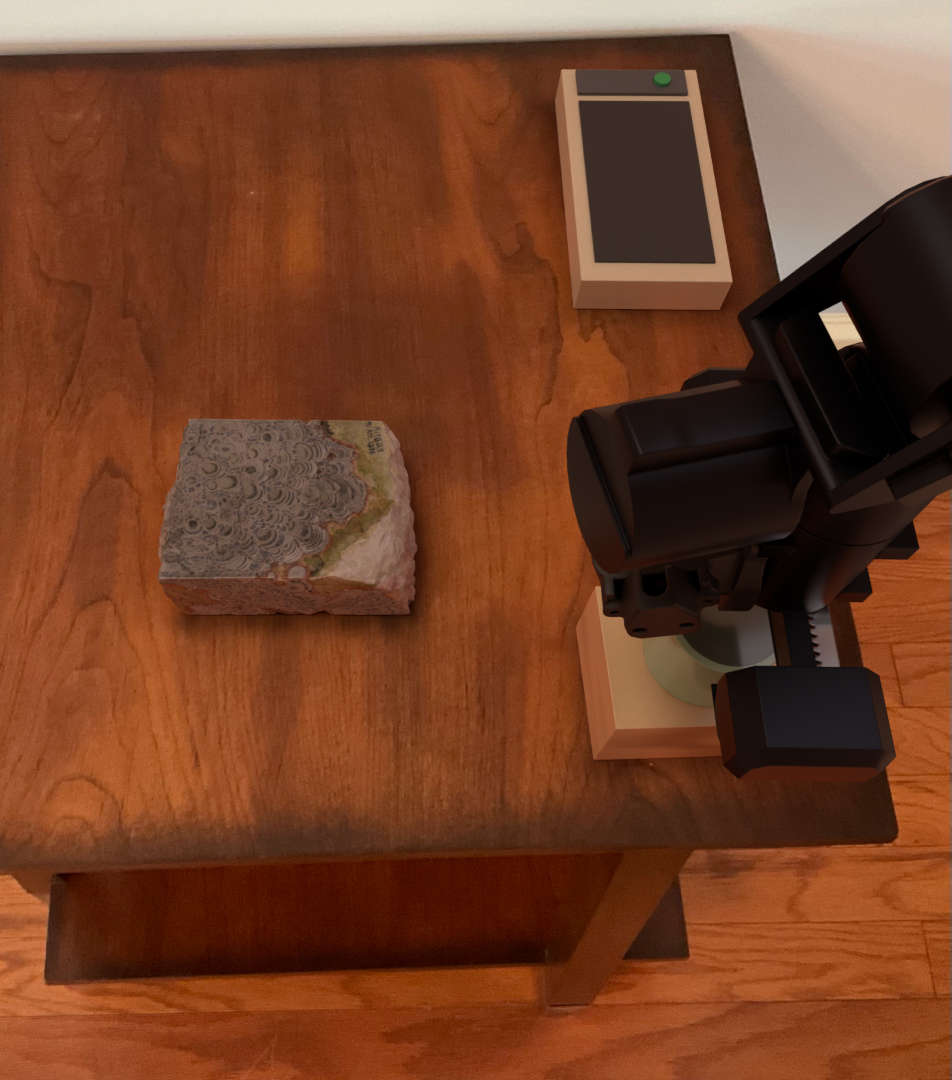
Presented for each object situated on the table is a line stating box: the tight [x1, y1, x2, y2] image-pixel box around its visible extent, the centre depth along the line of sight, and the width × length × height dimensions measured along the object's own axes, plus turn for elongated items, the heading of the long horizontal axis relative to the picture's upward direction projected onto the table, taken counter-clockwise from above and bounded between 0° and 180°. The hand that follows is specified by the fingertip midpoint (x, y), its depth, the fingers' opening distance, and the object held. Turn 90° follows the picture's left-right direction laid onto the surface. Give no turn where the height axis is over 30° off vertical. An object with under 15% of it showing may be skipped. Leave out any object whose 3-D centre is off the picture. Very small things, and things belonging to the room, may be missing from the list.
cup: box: [643, 605, 776, 707], centre depth 55 cm, size 6×6×5 cm
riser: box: [575, 585, 776, 761], centre depth 60 cm, size 10×8×6 cm
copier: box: [554, 68, 733, 311], centre depth 77 cm, size 20×10×4 cm, turn 179°
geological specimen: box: [157, 418, 418, 616], centre depth 65 cm, size 11×6×15 cm
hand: (717, 632), depth 54 cm, fingers open, 9 cm apart
